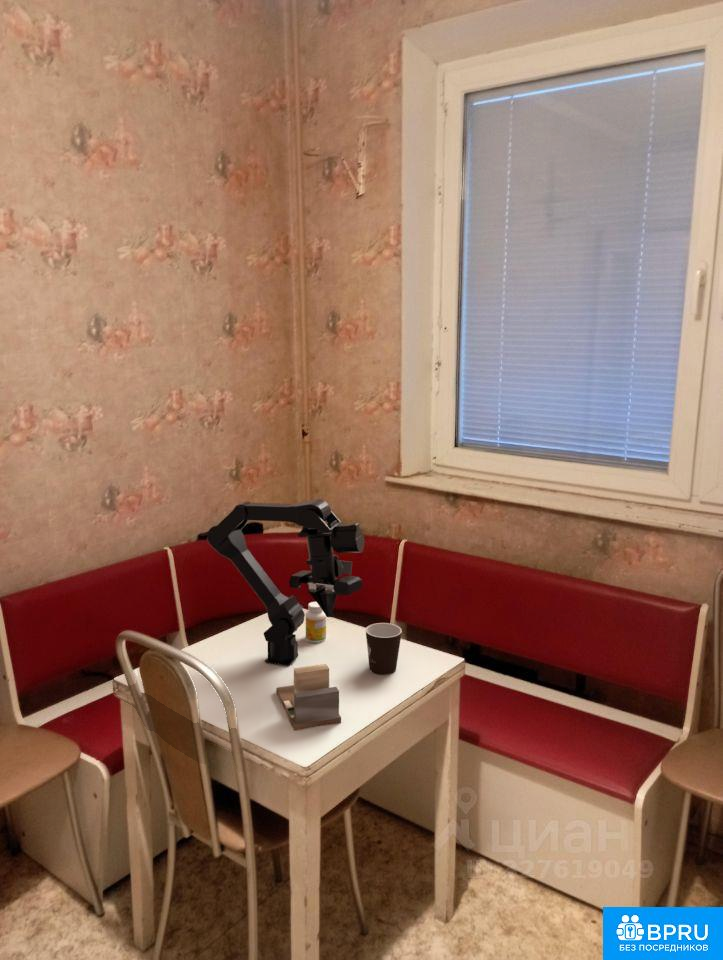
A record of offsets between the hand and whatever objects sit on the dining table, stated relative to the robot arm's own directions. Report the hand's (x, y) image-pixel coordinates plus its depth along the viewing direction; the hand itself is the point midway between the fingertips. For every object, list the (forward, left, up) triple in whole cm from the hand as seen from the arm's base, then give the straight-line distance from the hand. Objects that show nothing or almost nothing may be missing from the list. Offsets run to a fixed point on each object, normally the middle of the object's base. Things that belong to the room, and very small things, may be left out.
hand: (329, 616), depth 171 cm
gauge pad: (+3, -23, -11) cm, 25 cm away
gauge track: (+1, -19, -13) cm, 23 cm away
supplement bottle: (-8, +14, -13) cm, 21 cm away
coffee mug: (+13, +4, -13) cm, 19 cm away
